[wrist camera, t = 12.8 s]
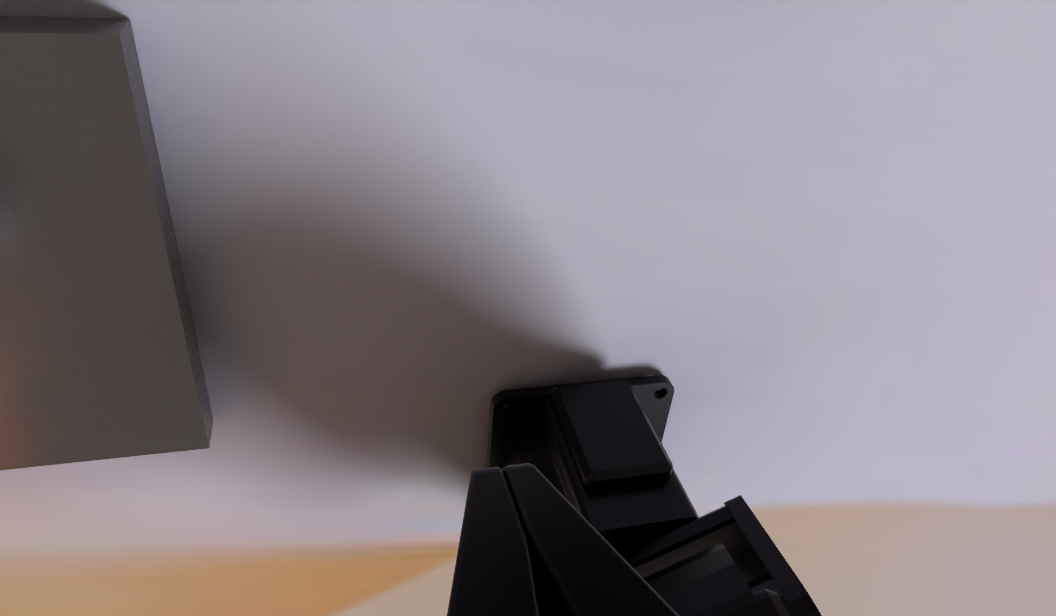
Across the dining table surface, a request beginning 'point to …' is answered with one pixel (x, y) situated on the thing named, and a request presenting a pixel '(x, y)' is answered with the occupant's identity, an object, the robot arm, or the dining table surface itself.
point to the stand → (88, 257)
